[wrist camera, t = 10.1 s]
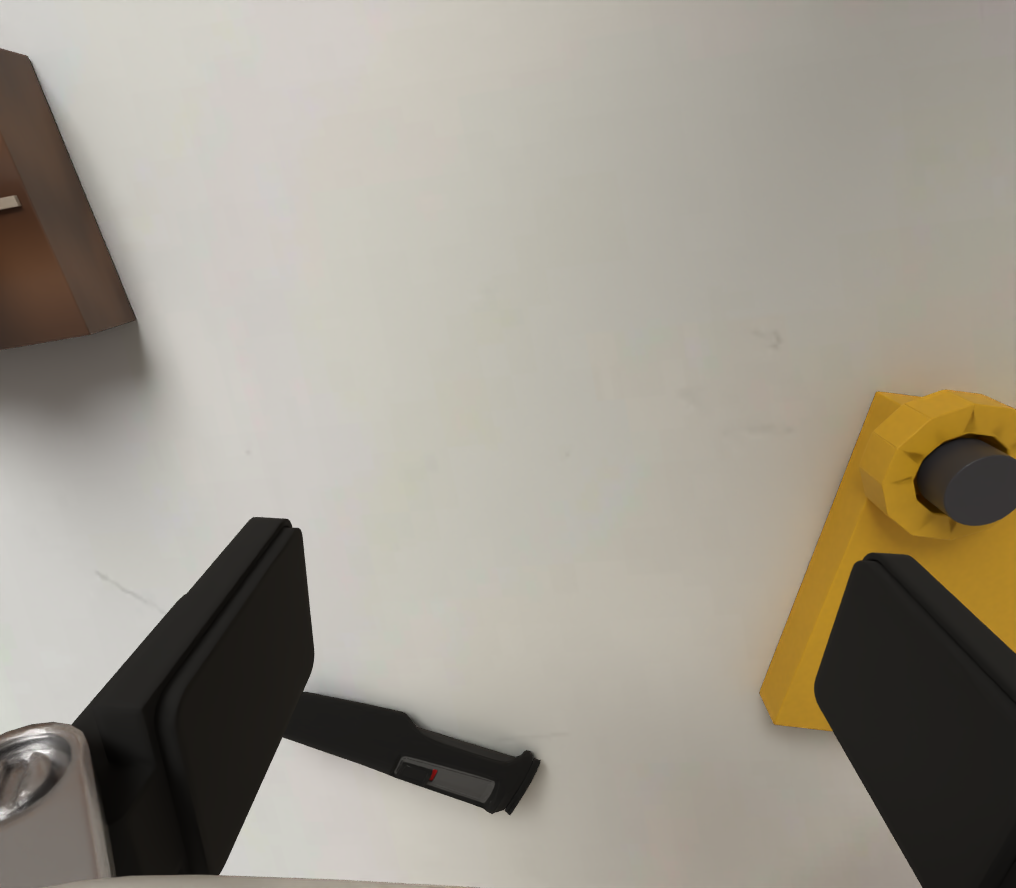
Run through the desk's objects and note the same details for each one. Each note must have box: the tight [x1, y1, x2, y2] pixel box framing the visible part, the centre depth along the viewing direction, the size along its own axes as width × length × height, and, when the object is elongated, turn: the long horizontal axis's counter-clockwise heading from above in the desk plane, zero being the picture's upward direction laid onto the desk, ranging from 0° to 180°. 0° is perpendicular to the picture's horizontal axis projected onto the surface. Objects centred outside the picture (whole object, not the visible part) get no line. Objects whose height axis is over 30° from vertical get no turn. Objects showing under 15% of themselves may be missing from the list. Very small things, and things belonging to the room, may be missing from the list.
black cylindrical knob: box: [917, 438, 1016, 526], centre depth 23 cm, size 3×3×2 cm
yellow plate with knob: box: [759, 390, 1016, 731], centre depth 28 cm, size 19×13×4 cm
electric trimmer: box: [283, 692, 541, 815], centre depth 34 cm, size 4×16×3 cm, turn 66°
